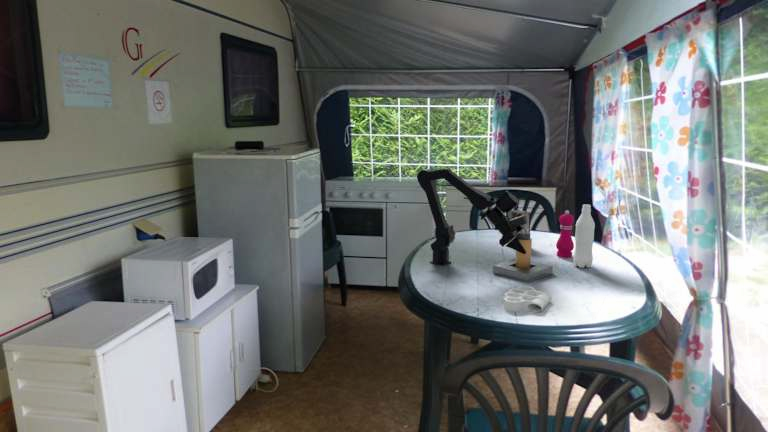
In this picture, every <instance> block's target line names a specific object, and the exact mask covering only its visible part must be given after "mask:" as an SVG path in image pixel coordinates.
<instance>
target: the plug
mask: <svg viewBox="0 0 768 432" xmlns="http://www.w3.org/2000/svg"><path fill="white" fill-rule="evenodd" d="M518 235H519V242H520V243H521V245H522V246H523V248H524V249H525V251H526V254H523V253H520V252H518V251H516V250H515V258H516V261H515V267H517V268H521V269H525V270H527V269H529V268H530V263H531V261H532V244H533V243H532V242H533V238H531V232H530V233H528V229H525V232H524V230H523V229H521V232H520V233H518Z"/></svg>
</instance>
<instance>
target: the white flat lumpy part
mask: <svg viewBox="0 0 768 432" xmlns="http://www.w3.org/2000/svg"><path fill="white" fill-rule="evenodd" d="M552 298H553V296H552V295H550V294H549V293H548V292H545V291H538V290H536V289H535V287H533V286H530V285H518V286H516V287H514V288H510V289H508V290H507V291H506V292H505V293H504V296H503V295H502V296H501V297H499V299H501V300H502V302H503V304H502V305H503V306H502V307H503V309H504V310H506V311H509V312H522V311H530V312H535V313H539V312H542V311H543V310H544V308H545V307H547V306H548V304H549V303H550V302H551V301H552Z"/></svg>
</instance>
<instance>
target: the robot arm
mask: <svg viewBox="0 0 768 432" xmlns="http://www.w3.org/2000/svg"><path fill="white" fill-rule="evenodd" d="M416 179H417V183H418V184H419V186H420V188H421V189H422V191H424V193H425V195H426V199H427V202H428V206H429V209H430V212H431V214H432V218H433V222H434V225H435V235H434V236H435V240H434V241H433V242H432V243H431V244H430V248H431V251H432V260H430V261H429V263H430V264H431V263H432V264H434V265H438V266H443V265H448V264H451V263H452V261H451V260H450V250H449V249H450V248H449V247H450V246H451V244H452V243H454V241H455V239H456V236H455V235H457V234H456V232H455V230H454V226H453V224H451V225H449V223H448V222H447V220H446V216H445V213H444V210H443V206H442V204H441V200H440V197H439V194H438V191H437V184H438V183H437V182H438V181H439V180H441V179H442V180H445V181H446V183H447V182H448V183H449V184H450V185H451V186H453V187H454V188H455V189H456V190H458V192H460V193H462V194H463V195H464V196H465V197H466V198H467V199H468V201H469V202H470V203H471V205H472V206H474V208H475V209H477V210H478V211H481V212H480V219H481V220H484V219H487V220H489V222H490V223H491V224H492V225H493V226H494V227H495V228H494V230H495V231H498V232H499V233H500V235H501V238H500V239H498V241H499V245H500V246H501V247H502V248H503V247H507V248H509V249H511V250H514V251H515V252H516V251H518V252H520V253H523V254H526V251H525V249H524V248H523V246H522V245H521V243H520V242H519V235H518V233H520V231H521V229H524V228H525V227H524V226H523V225H524V224H526V223H527V222H528V221H527V219H526V218H527V216H525V214H524V215H523V214H522V213H519V214H517V217H516V218H514V219H511V218H510V217H508V216H506V215H505V213H506V214H508V213H509V212H510V211H512V210H514V209H515V208H516V207H517V206H518V205H519V204H520V201H519V199H518V198H517V197H516V195H514V194H513V193H511V192H510V191H509V190H505V192H503V193H502V195H500V196H499V197H498V198H497V197H492V196H491V195H489V194H488V193H486V192H484V191H483V190H480V189H477V188H475V187H474V186H472V185H471V184H469V182H467V181H465V180H464V179H463V178H461V176H459V175H458V174H456V173H455V172H454V171H453V170H452V169H451V168H450V167H444V168H442V169H441V168H440V169H435V170H434V169H432V168H425V169H420V170H419V171H418V173H417V175H416ZM493 206H494V207H493ZM507 243H508V244H507Z"/></svg>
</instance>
